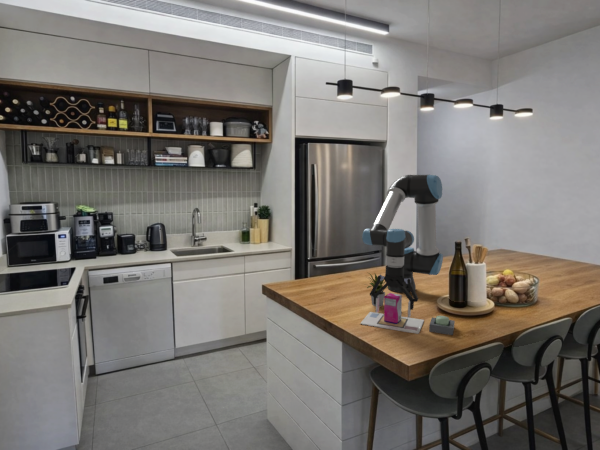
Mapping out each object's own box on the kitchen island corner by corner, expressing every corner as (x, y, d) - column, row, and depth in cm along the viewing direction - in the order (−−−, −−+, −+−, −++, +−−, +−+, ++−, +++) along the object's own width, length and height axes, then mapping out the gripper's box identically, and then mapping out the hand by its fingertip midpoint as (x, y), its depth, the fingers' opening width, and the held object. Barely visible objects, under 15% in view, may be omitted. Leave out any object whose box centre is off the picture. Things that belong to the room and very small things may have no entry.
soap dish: (431, 324, 171) (432, 317, 170) (454, 327, 167) (454, 320, 167) (429, 331, 163) (429, 324, 162) (452, 335, 159) (453, 328, 159)
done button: (436, 324, 168) (436, 315, 167) (448, 326, 166) (449, 316, 165) (434, 328, 163) (435, 318, 163) (447, 330, 161) (448, 320, 161)
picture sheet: (369, 312, 184) (370, 311, 184) (424, 320, 174) (424, 319, 174) (360, 324, 170) (360, 322, 170) (418, 333, 160) (418, 332, 160)
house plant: (354, 303, 197) (355, 271, 195) (372, 298, 206) (373, 267, 204) (377, 311, 187) (378, 277, 185) (395, 305, 195) (396, 272, 193)
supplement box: (388, 317, 176) (389, 292, 175) (401, 320, 173) (402, 294, 171) (383, 321, 172) (384, 295, 170) (396, 324, 168) (397, 298, 167)
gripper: (363, 264, 171) (362, 312, 173) (424, 270, 161) (421, 321, 163) (368, 261, 178) (366, 307, 180) (426, 266, 167) (424, 315, 170)
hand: (392, 314), depth 172 cm, fingers open, 13 cm apart
